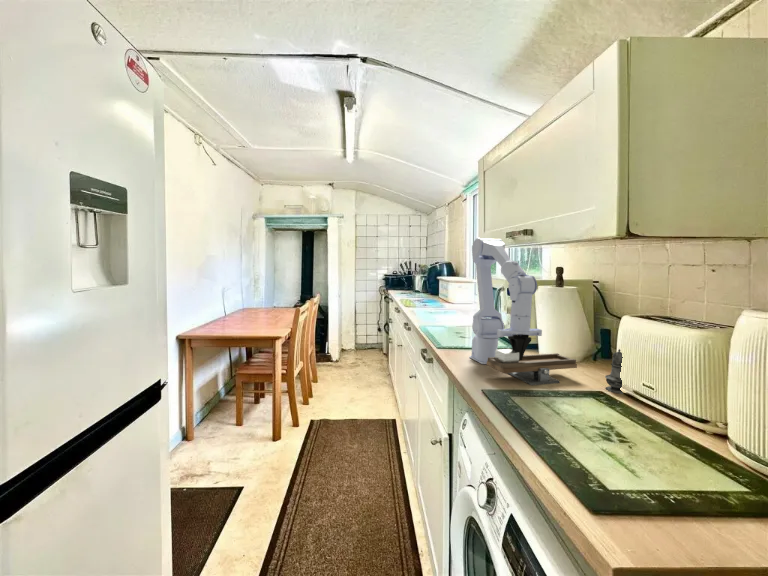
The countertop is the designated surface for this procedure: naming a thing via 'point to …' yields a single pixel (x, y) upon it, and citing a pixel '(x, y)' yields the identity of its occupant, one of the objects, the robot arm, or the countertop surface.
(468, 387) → the countertop surface
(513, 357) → the white block
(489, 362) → the brown wooden tray
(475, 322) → the robot arm
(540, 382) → the fulcrum stand
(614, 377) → the dark grey chess piece
